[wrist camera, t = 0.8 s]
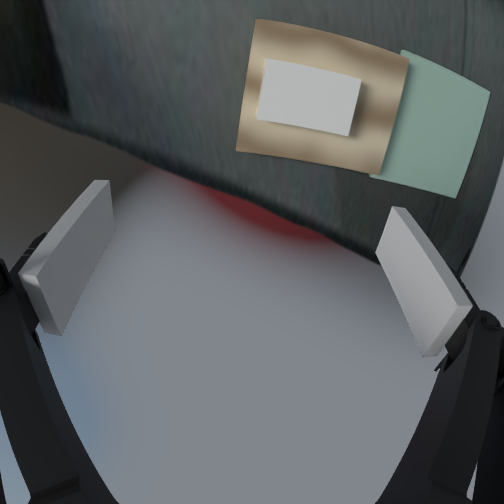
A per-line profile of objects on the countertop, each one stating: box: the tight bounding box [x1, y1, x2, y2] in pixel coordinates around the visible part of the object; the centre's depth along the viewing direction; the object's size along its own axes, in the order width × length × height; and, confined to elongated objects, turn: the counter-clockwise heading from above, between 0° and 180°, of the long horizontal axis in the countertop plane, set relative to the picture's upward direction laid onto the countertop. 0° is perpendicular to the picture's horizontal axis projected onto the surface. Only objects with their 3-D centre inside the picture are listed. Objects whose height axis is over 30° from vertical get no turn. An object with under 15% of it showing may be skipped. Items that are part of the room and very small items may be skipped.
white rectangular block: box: [256, 58, 362, 136], centre depth 28 cm, size 9×6×2 cm, turn 82°
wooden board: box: [236, 18, 410, 175], centre depth 30 cm, size 14×16×2 cm
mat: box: [369, 50, 490, 198], centre depth 32 cm, size 16×14×1 cm
